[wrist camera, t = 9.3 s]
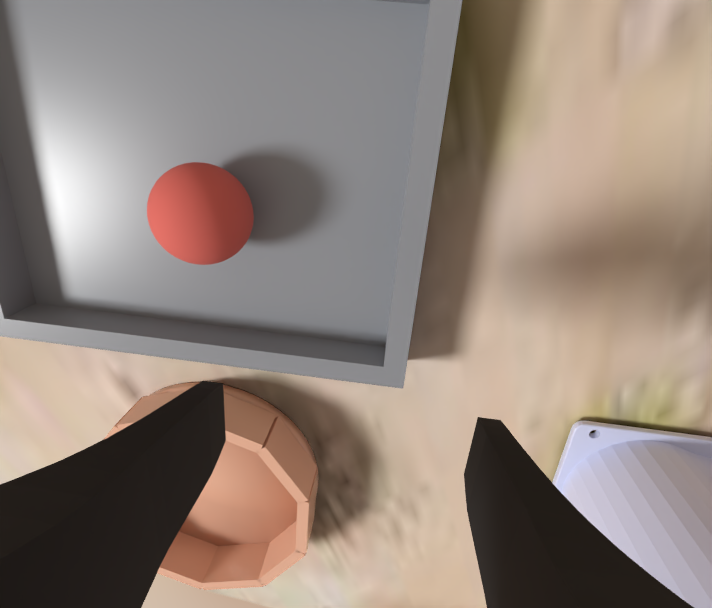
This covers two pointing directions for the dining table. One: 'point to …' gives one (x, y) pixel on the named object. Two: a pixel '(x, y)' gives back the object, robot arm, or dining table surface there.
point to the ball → (200, 213)
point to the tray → (237, 156)
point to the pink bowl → (243, 497)
